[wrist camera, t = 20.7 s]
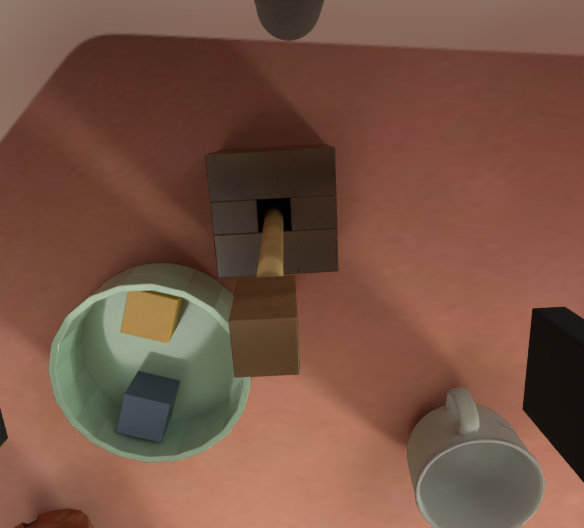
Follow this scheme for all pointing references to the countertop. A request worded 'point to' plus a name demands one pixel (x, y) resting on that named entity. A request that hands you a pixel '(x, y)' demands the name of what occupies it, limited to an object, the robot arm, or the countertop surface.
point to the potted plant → (60, 520)
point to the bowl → (150, 364)
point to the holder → (268, 185)
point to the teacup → (472, 468)
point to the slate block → (147, 406)
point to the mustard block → (152, 315)
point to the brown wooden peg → (266, 309)
